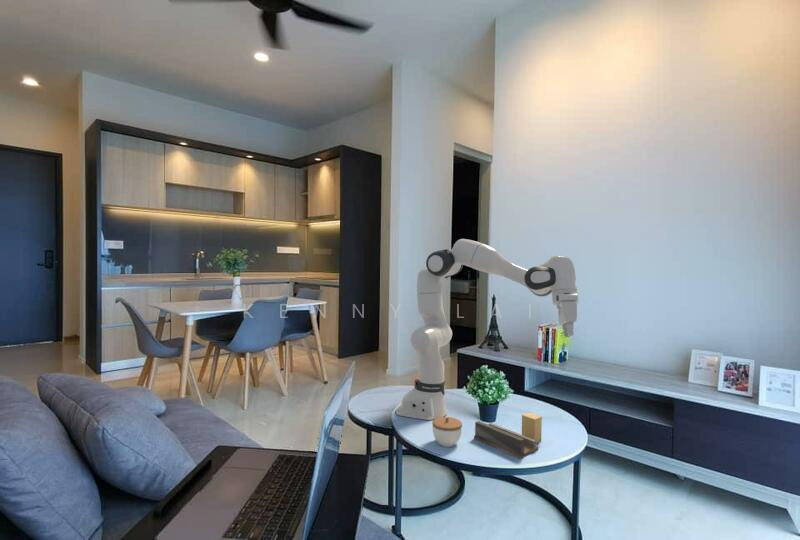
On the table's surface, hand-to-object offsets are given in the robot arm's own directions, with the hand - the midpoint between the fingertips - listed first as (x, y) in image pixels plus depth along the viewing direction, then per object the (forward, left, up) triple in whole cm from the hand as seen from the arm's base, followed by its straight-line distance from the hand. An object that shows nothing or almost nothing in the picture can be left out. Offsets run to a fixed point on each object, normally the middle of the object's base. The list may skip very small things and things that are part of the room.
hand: (568, 336), depth 147 cm
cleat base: (-22, -4, -40) cm, 46 cm away
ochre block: (-12, +2, -40) cm, 42 cm away
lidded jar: (-43, -8, -40) cm, 59 cm away
